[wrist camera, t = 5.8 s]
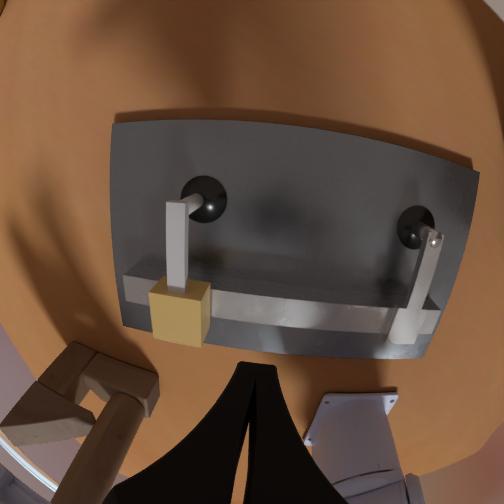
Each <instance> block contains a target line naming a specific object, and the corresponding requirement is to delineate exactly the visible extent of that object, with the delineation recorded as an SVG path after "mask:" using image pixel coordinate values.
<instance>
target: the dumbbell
mask: <svg viewBox="0 0 504 504" xmlns="http://www.w3.org/2000/svg"><path fill="white" fill-rule="evenodd" d="M3 8H4V0H0V15H1V12H2V10H3Z"/></svg>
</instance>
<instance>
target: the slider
mask: <svg viewBox="0 0 504 504" xmlns="http://www.w3.org/2000/svg"><path fill="white" fill-rule="evenodd" d="M203 202H204V199H203V197H202V195H200V194H198V193H194V194H192V195H190V196H188V197H186V198H184V199H182V200H180V201H177V200H170V201H167V202H166V262H167V276H163V277H162V278H161V279H160V280H159V281H158V282H157V283H156V284H155V286H154V287H153V288H152V289H151V290H150V291H149V302H150V312H151V321H152V329H153V337H154V338H155V339H159V340H164V341H168V342H173V343H178V344H183V345H188V346H194V347H199V348H201V347H202V345H203V342H204V340H205V337H206V335H207V332H208V330H209V327H210V285H211V283H210V282H202V281H195V280H189V279H188V224H189V214H191V213H192V212H193V211H195V210H196V209H198V208H199V207H201V206H202V205H203Z"/></svg>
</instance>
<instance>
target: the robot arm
mask: <svg viewBox="0 0 504 504" xmlns="http://www.w3.org/2000/svg"><path fill="white" fill-rule="evenodd" d="M398 397H399V395H398V393H397V392H390V393H364V394H334V393H328V394H325V395H324V396H323V398H322V400H321V403H320V405H319V407H318V410H317V412H316V414H315V417H314V419H313V421H312V424H311V426H310V428H309V430H308V432H307V434H306V437H305V439H304V441H302V439H301V437H300V435H299V433H298V431H297V429H296V427H295V425H294V423H293V421H292V418H291V416H290V413H289V411H288V408H287V405H286V403H285V400H284V397H283V394H282V391H281V387H280V383H279V379H278V374H277V368H276V367H275V366H274V365H268V364H259V363H251V362H243V361H241V362H239V363H238V364H237V367H236V369H235V372H234V374H233V376H232V378H231V379H230V381H229V383H228V385H227V386H226V388H225V389H224V391H223V392H222V394H221V395H220V397H219V398H218V400H217V401H216V403H215V404H214V405H213V407H212V408H211V409H210V410H209V412H208V413H207V414H206V415H205V417H204V418H203V419H202V420H201V421H200V422H199V424H198V425H197V426H196V427H195V428H194V429H193V430H192V431H191V432H190V433H189V434H188V435H187V436H186V437H185V438H184V439H183V440H182V441H181V442H179V443H178V444H177V445H176V446H175V447H174V448H173V449H171V450H170V451H169V452H168V453H166V454H165V455H164V456H163V457H161V458H160V459H158V460H157V461H156V462H154V463H153V464H151V465H150V466H148V467H147V468H145V469H144V470H142V471H141V472H139V473H137V474H136V475H134V476H132V477H130V478H128V479H126V480H125V481H123V482H121V483H119V484H117V485H115V486H114V487H113V488H112V489H111V490H110V492H109V493H108V494H107V496H106V497H105V499H104V500H103V502H102V504H231V499H232V493H233V487H234V481H235V474H236V470H237V466H238V462H239V458H240V454H241V451H242V447H243V443H244V439H245V435H246V431H247V427H248V423H249V448H248V472H247V481H246V487H245V494H244V501H243V504H425V501H424V497H423V493H422V488H421V484H420V481H419V477H418V476H417V475H413V474H412V473H409V474H407V475H405V478H406V482H405V478H404V475H403V473H402V470H401V467H400V463H399V459H398V455H397V451H396V447H395V443H394V439H393V436H392V432H391V429H390V425H389V422H388V418H387V414H388V413H389V411H390V410H391V408H392V407H393V405H394V404H395V402H396V400H397V399H398ZM305 445H312V456H311V455H310V453H309V452H308V450H307V448H306V446H305ZM406 484H407V485H406ZM0 504H52V503H50V502H49V501H47V500H46V499H44V498H43V497H41V496H40V495H39V494H37V493H36V492H34V491H33V490H32V489H30V488H29V487H28V486H27V485H25V484H24V483H23V482H21V481H20V480H19V479H18V478H16V477H15V476H14V475H13V474H12V473H11V472H10V471H9V470H7V469H6V468H5V467H4V466H3V465H1V463H0Z"/></svg>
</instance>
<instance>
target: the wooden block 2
mask: <svg viewBox="0 0 504 504" xmlns="http://www.w3.org/2000/svg"><path fill="white" fill-rule="evenodd" d="M90 389H91V390H92V391H93V392H94V393H95V394H96V395H97V396H98V397H99V398H100V399H102V400H103V401H105V402H107V404H106V405H105V407H104V409H103V410H102V412H101V414H100V415H99V417H98V419H97V420H95V417H94V415H93V413H92V412H91V411H89V410H87V409H85V408H83V407H81V406H79V404H80V403H81V401H82V400H83V399H84V397H85V396H86V394H87V393H88V391H89V390H90ZM159 396H160V391H159V376H158V374H156V373H153V372H150V371H147V370H144V369H141V368H138V367H135V366H132V365H129V364H127V363H124V362H121V361H119V360H116V359H113V358H111V357H108V356H106V355H103V354H101V353H97V352H96V351H95V350H92V349H90V348H88V347H85V346H83V345H81V344H79V343H76V342H74V341H73V342H71V343H70V344H69V345H68V346H67V347H66V348H65V349H64V350H63V352H62V353H61V354H60V355H59V356H58V357H57V358H56V359H55V360H54V361H53V362H52V364H51V365H50V366H49V367H48V368H47V369H46V370H45V371H44V373H43V374H42V375H41V376H40V377H39V378H38V381H35V382H34V383H33V384H32V385H31V387H30V388H29V389H28V390H27V391H26V393H25V394H24V395H23V396H22V397H21V399H20V400H19V401H18V402H17V403H16V405H15V406H14V407H13V408H12V410H11V411H10V412H9V413H8V415H7V416H6V417H5V418H4V420H3V421H2V422H1V424H0V429H1V430H2V432H3V433H4V434H5V435H6V437H7V438H8V439H9V440H10V441H11V442H12V444H13V445H14V446H25V445H34V444H41V443H48V442H54V441H61V440H67V439H72V438H77V437H82V436H87V437H86V439H85V441H84V442H83V444H82V446H81V447H80V449H79V451H78V453H77V454H76V456H75V458H74V460H73V461H72V463H71V465H70V467H69V469H68V470H67V472H66V474H65V476H64V478H63V479H62V481H61V483H60V485H59V487H58V489H57V491H56V492H55V494H54V497H53V498H52V500H51V502H50V503H52V504H102V502H103V500H104V499H105V497H106V496H107V494H108V493H109V491H110V489H111V487H112V485H113V483H114V480H115V478H116V475H117V473H118V471H119V469H120V467H121V465H122V463H123V461H124V458H125V456H126V454H127V452H128V450H129V448H130V445H131V443H132V441H133V439H134V437H135V435H136V433H137V430H138V428H139V426H140V424H141V422H142V420H143V418H144V417H145V418H149V417H150V416H151V413H152V411H153V409H154V407H155V405H156V403H157V401H158V398H159Z"/></svg>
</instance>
